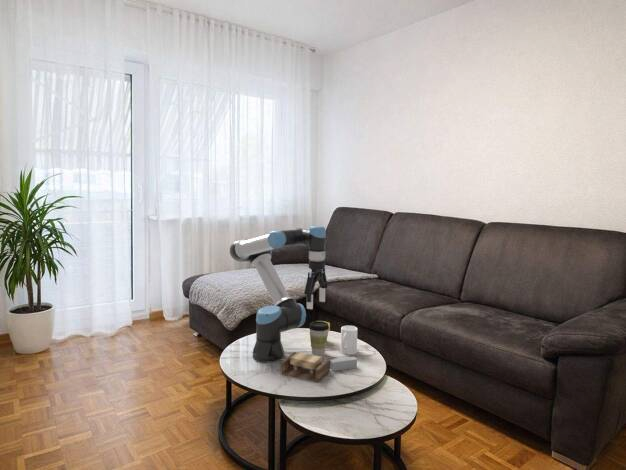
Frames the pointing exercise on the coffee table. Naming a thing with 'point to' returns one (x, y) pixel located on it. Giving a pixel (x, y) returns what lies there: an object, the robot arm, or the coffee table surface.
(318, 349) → the coffee cup
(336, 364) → the wedge
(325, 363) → the cradle
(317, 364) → the board
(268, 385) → the coffee table surface
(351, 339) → the mug
